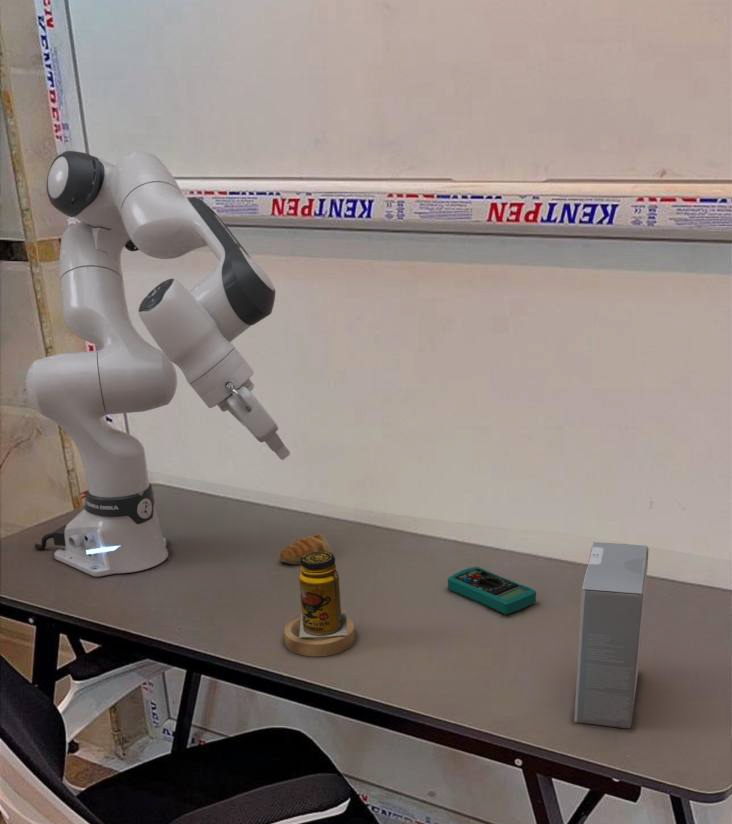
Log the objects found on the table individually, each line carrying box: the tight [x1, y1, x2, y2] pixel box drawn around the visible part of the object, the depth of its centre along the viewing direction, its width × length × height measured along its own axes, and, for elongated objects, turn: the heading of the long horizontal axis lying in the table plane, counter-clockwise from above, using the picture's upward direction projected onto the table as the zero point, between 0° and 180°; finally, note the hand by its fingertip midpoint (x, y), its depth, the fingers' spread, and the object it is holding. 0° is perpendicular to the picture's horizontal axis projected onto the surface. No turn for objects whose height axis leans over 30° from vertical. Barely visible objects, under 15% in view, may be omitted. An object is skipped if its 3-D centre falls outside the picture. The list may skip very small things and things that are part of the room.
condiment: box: [298, 551, 347, 638], centre depth 149 cm, size 7×8×12 cm
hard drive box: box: [573, 541, 650, 729], centre depth 130 cm, size 16×8×20 cm, turn 163°
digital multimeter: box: [447, 566, 537, 616], centre depth 164 cm, size 7×15×3 cm, turn 39°
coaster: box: [283, 615, 356, 658], centre depth 152 cm, size 11×11×2 cm
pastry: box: [279, 533, 332, 566], centre depth 181 cm, size 9×7×4 cm
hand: (281, 452), depth 152 cm, fingers open, 8 cm apart
